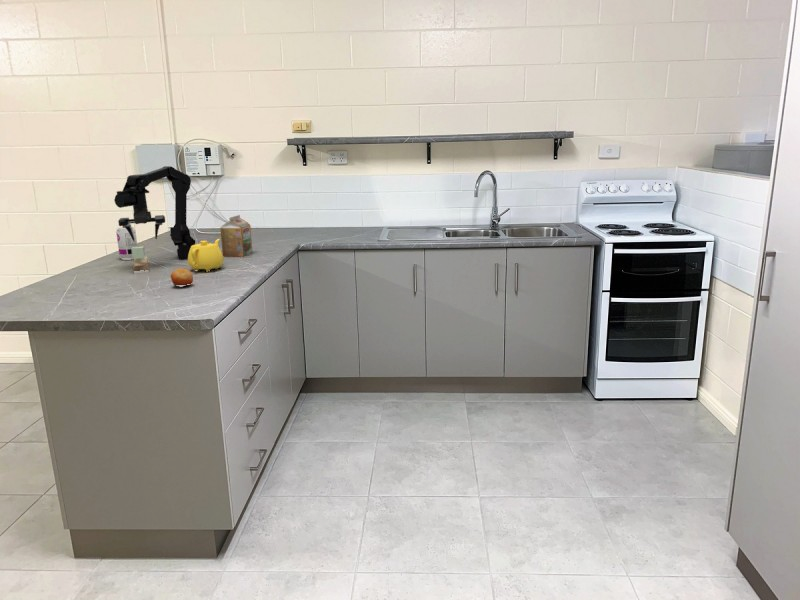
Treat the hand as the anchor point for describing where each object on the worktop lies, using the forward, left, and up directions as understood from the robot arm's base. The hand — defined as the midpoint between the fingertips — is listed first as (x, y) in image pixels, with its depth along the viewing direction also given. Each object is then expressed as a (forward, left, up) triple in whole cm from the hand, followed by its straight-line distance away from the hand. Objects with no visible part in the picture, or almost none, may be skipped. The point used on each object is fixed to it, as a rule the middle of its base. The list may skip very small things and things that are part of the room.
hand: (145, 239), depth 270 cm
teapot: (-26, +14, -13) cm, 32 cm away
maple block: (+2, +9, -9) cm, 13 cm away
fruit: (-16, +44, -13) cm, 48 cm away
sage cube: (+2, +9, -6) cm, 11 cm away
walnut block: (+2, +9, -13) cm, 16 cm away
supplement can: (+10, -24, -13) cm, 29 cm away
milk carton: (-40, -15, -13) cm, 44 cm away
